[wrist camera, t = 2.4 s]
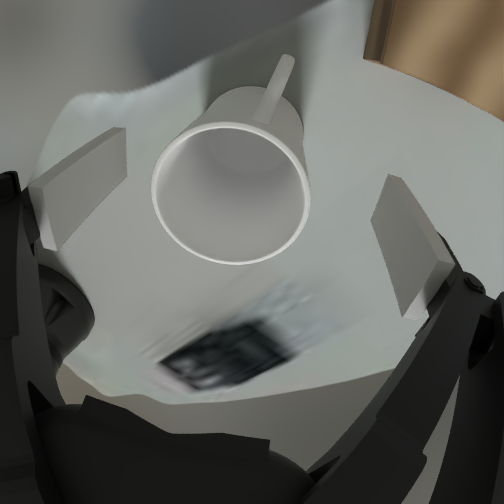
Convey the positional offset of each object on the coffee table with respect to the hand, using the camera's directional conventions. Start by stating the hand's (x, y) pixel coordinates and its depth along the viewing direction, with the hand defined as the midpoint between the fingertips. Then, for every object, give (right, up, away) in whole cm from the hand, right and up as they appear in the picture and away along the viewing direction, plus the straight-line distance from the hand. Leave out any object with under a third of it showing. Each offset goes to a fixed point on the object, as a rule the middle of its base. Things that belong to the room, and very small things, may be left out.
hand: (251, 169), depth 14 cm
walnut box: (+15, +15, +2) cm, 21 cm away
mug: (+1, +7, +9) cm, 12 cm away
